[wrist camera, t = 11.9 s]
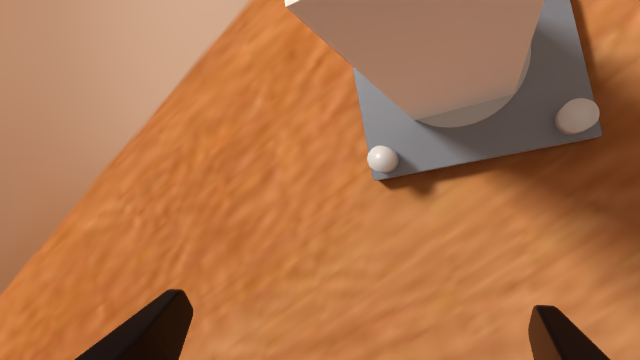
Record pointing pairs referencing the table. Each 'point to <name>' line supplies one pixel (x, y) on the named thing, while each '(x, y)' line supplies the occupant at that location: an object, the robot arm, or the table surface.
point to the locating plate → (491, 110)
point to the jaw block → (429, 46)
